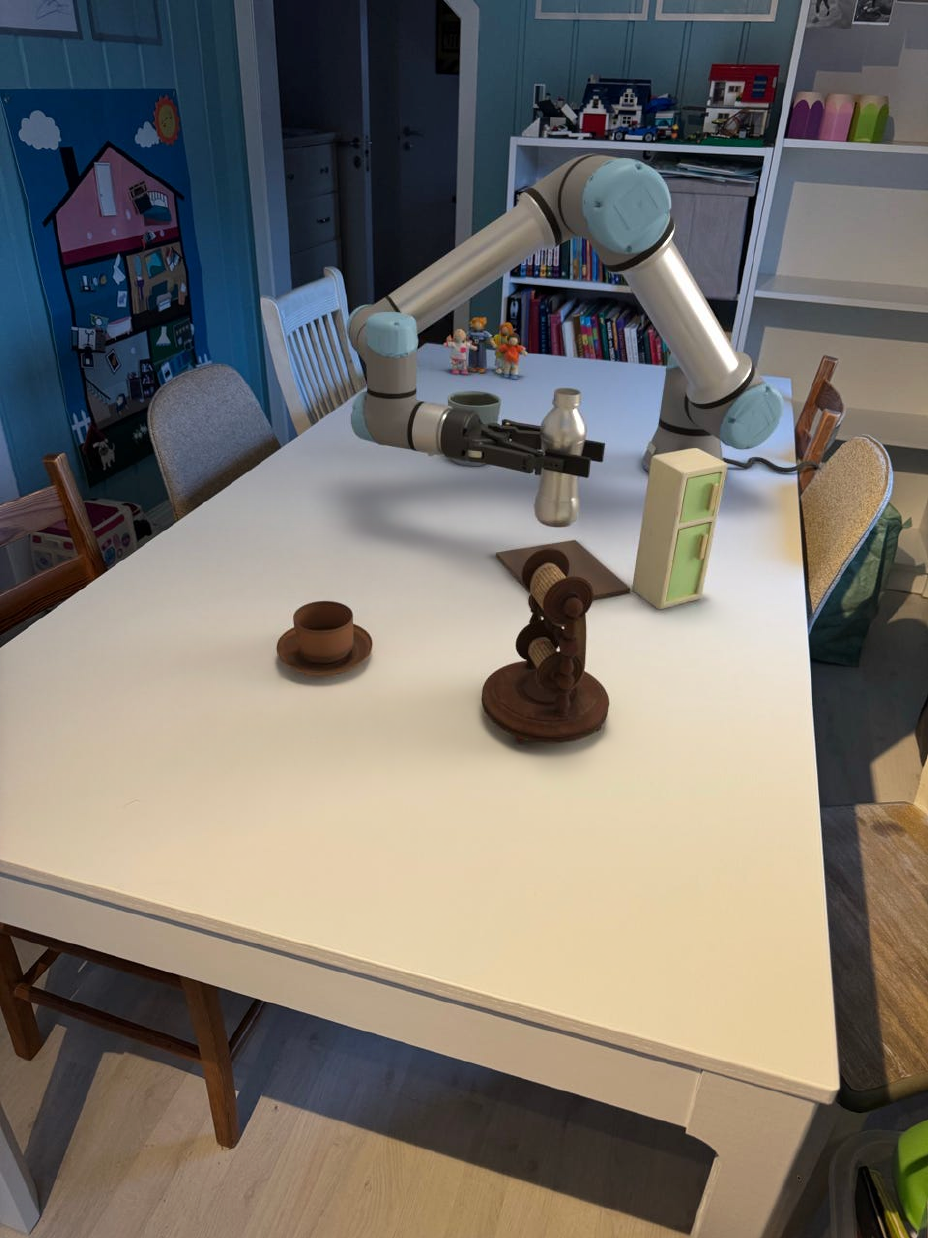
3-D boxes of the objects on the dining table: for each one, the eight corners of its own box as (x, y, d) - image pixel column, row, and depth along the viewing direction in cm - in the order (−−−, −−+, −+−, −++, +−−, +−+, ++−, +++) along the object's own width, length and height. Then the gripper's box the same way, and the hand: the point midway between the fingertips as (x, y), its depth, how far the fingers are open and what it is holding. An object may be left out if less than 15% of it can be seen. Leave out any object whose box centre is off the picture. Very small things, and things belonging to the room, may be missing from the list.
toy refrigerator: (661, 613, 125) (685, 473, 114) (630, 590, 130) (650, 454, 119) (705, 601, 128) (733, 464, 117) (672, 579, 133) (696, 446, 122)
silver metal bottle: (575, 535, 129) (590, 400, 119) (529, 529, 130) (540, 395, 120) (579, 517, 134) (594, 387, 124) (535, 512, 135) (546, 382, 125)
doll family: (442, 373, 224) (443, 319, 217) (448, 363, 232) (450, 311, 225) (525, 380, 221) (529, 326, 214) (529, 369, 229) (532, 317, 222)
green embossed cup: (438, 461, 172) (439, 401, 165) (458, 445, 180) (459, 387, 173) (486, 470, 168) (490, 409, 162) (504, 453, 176) (508, 394, 170)
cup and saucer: (332, 695, 105) (329, 652, 102) (257, 663, 111) (252, 621, 107) (391, 650, 114) (391, 609, 111) (319, 622, 119) (317, 582, 116)
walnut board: (574, 544, 143) (575, 539, 142) (630, 593, 129) (630, 588, 129) (495, 556, 138) (495, 552, 137) (544, 609, 124) (545, 604, 124)
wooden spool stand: (627, 741, 100) (653, 587, 89) (504, 763, 96) (516, 604, 86) (577, 669, 112) (594, 526, 101) (465, 686, 108) (471, 538, 98)
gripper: (473, 437, 142) (612, 463, 134) (419, 476, 127) (572, 508, 119) (475, 391, 138) (618, 415, 130) (420, 425, 123) (577, 455, 115)
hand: (596, 460), depth 125 cm, fingers closed on silver metal bottle, 6 cm apart
